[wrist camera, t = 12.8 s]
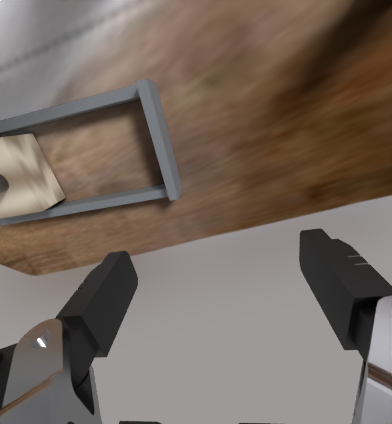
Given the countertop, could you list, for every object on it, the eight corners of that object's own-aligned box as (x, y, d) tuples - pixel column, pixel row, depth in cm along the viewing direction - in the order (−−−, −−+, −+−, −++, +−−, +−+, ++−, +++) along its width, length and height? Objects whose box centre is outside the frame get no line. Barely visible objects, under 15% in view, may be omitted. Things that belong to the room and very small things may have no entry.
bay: (-43, 135, 37) (-79, 139, 33) (156, 82, 31) (146, 78, 27) (12, 219, 44) (-11, 231, 40) (182, 188, 38) (178, 199, 34)
